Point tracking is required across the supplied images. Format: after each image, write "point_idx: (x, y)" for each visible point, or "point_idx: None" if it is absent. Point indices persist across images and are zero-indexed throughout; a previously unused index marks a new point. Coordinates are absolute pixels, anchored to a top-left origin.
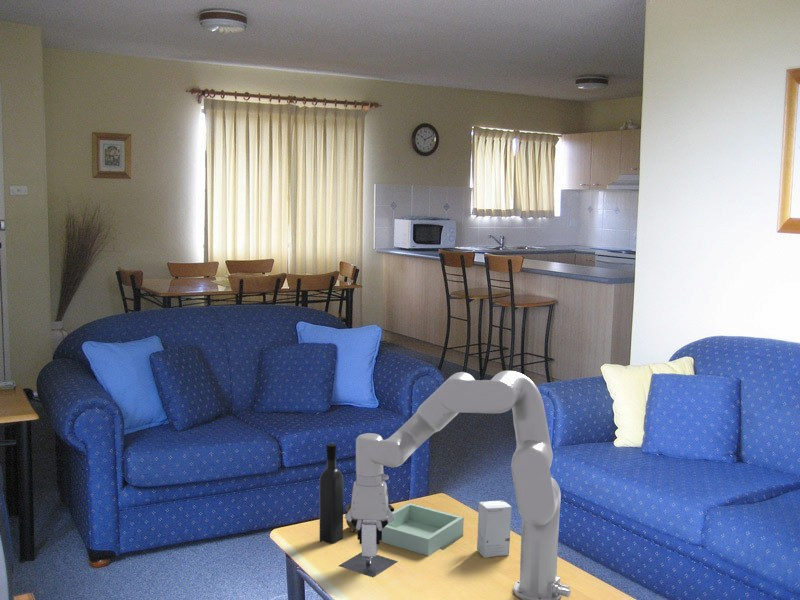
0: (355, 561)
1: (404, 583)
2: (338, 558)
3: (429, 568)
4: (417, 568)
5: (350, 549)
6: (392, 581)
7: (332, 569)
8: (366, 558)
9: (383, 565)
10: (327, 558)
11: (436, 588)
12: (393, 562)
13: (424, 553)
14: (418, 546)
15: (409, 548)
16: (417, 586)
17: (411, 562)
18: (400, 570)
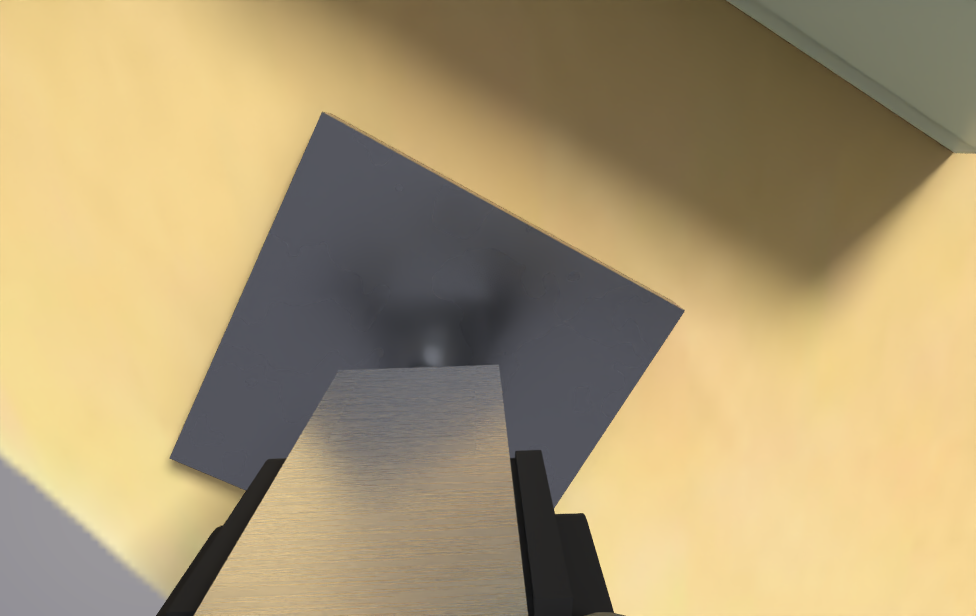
0: (296, 363)
1: (718, 575)
2: (114, 243)
3: (932, 329)
4: (833, 343)
5: (161, 11)
6: (633, 561)
7: (139, 450)
8: None
9: (556, 402)
10: (12, 257)
11: (930, 606)
12: (641, 337)
13: (960, 130)
14: (950, 84)
15: (816, 28)
16: (806, 600)
17: (791, 237)
18: (691, 394)
